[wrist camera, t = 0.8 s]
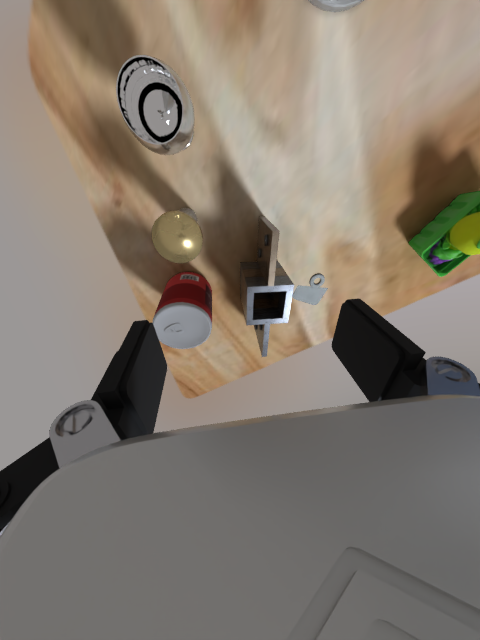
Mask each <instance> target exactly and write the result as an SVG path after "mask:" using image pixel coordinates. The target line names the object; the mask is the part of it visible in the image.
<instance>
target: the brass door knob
mask: <svg viewBox="0 0 480 640" xmlns="http://www.w3.org/2000/svg"><path fill="white" fill-rule="evenodd" d="M152 241H153V244H154V247H155V248H156V250H157V251H158V253H159V254H160V255H161V256H163V257H164V258H165V259H167V260H169V261H171V262H175V263H186V262H189V261H191V260H193V259H194V258H196V257H197V255H198V254H199V252H200V250H201V247H202V241H203V236H202V231H201V228H200V226H199V225H198V223H197V216H196V214H195V212H194V211H193V210H191V209H189V208H182V209H180V210H179V211H169V212H166V213H164V214H162V215H161V216H160V217H159V218H158V219H157V220H156V221H155V223H154V225H153V228H152Z"/></svg>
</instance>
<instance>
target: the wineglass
mask: <svg viewBox="0 0 480 640" xmlns="http://www.w3.org/2000/svg"><path fill="white" fill-rule="evenodd" d="M116 93H117V101H118V104H119V108H120V111H121V114H122V117H123V119H124V121H125V123H126V125H127V126H128V128H129V130H130V131H131V133H132V134H133V135H134V137H135V138H136V139H137V140H138V141H139V142H140V143H141V144H142V145H143V146H145V147H146V148H148V149H149V150H151V151H152V152H155V153H157V154H160V155H174V154H177V153H179V152H180V151H182V150H184V149H186V148H187V147H188V146H189V145H190V143H191V142H192V139H193V134H194V123H195V117H194V108H193V103H192V100H191V97H190V94H189V92H188V90H187V88H186V86H185V84H184V82H183V81H182V79H181V78H180V77H179V76H178V74H177V73H176V72H175V71H174V70H173V69H172V68H171V67H170V66H169V65H167V64H166V63H165V62H163V61H162V60H160V59H157V58H155V57H151V56H147V55H137V56H133V57H131V58H130V59H128V60H127V61H126V62H125V63H124V64H123V66H122V67H121V69H120V71H119V74H118V78H117V85H116Z"/></svg>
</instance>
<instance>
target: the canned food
mask: <svg viewBox="0 0 480 640" xmlns="http://www.w3.org/2000/svg"><path fill="white" fill-rule="evenodd" d="M153 325H154V327H155V330H156V333H157V336H158V339H159V341H161V342H162V343H163V344H165V345H167V346H170V347H173V348H177V349H188V348H193V347H196V346H199V345H200V344H202V343H203V342H205V341H206V340H207V338H208V337H209V335H210V333H211V328H212V290H211V286H210V284H209V283H208V281H207V280H206V279H205V278H204V277H203V276H201V275H199V274H197V273H194V272H182V273H179V274H177V275H175V276H173V277H172V278H171V279H170V280H169V281H168V283H167V285H166V287H165V290H164V292H163V295H162V297H161V300H160V302H159V305H158V307H157V310H156V312H155V315H154V318H153Z"/></svg>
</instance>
